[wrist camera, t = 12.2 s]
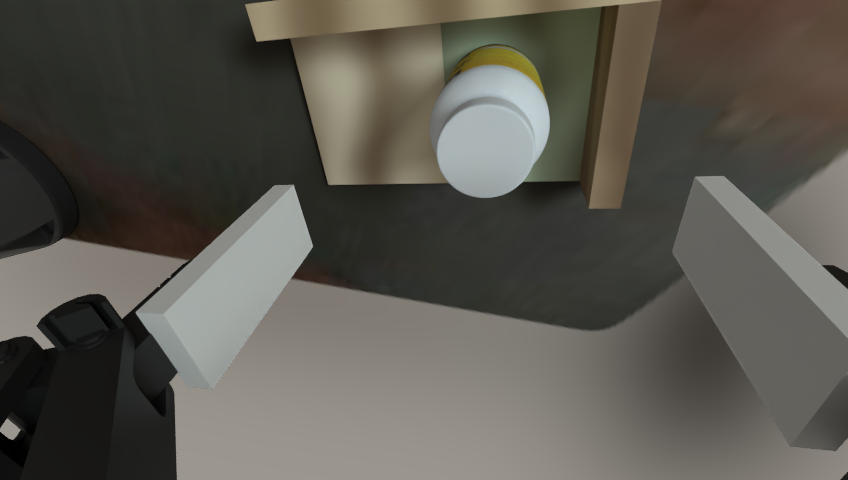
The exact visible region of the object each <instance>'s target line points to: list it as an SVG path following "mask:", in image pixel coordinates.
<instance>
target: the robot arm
mask: <svg viewBox="0 0 848 480" xmlns="http://www.w3.org/2000/svg"><path fill="white" fill-rule="evenodd" d="M77 222H78V210H77V206H76V202H75V199H74V197H73V194H72V192H71V190H70V188H69V186H68V185H67V183H66V181H65V180H64V178H63V177H62V175H61V174H60V173H59V171H58V170H57V169H56V168H55V166H54V165H53V164H52V163H51V162H50V161H49V159H48V158H47V157H46V156H45V155H44V154H43V153H42V152H41V151H40V150H39V149H38V148H36V147H35V146H34V145H33V144H32V143H31V142H29V141H28V140H27V139H26V138H24V137H23V136H22V135H20V134H19V133H18V132H16V131H15V130H13V129H12V128H10V127H9V126H7V125H5V124H4V123H2V122H0V259H2V258H6V257H10V256H14V255H17V254H21V253H25V252H29V251H33V250H37V249H40V248H44V247H47V246H50V245H52V244H54V243H56V242H57V241H59V240H61V239H63V238H64V237H66V236H68V235H69V234H71V233H72V232H73V231H74V229H75V228H76V225H77ZM312 248H313V245H312V242H311V239H310V236H309V232H308V229H307V226H306V223H305V220H304V217H303V213H302V210H301V207H300V204H299V201H298V197H297V194H296V191H295V188H294V185H274V186H273V187H272V188H271V189H270V190H269V191H268V192H267V193H266V194H265V195H263V196H262V197H261V198H260V199H259V200H258V201H257V202H256V203H255V204H254V205H253V206H251V207H250V208H249V209H248V210H247V211H246V212H245V213H244V214H243V215H242V216H240V217H239V218H238V219H237V220H236V221H235V222H234V223H233V224H232V225H231V226H229V227H228V228H227V229H226V230H225V231H224V232H223V233H222V234H221V235H220V236H219V237H217V238H216V239H215V240H214V241H213V242H212V243H211V244H210V245H209V246H208V247H206V248H205V249H204V250H203V251H202V252H201V253H200V254H199V255H198V256H196V257H195V258H193V259H191V260H190V261H188V262H186V263H185V264H183V265H182V266H181V267H180V268H178V270H176V271H175V272H174V273H173V274H172V275H171V277H170V278H167V279H166V280H165V281H164V282H163V283H162V284H161V285H160V287H157V288H156V289H155V290H154V291H153V292H152V293H151V294H150V295H148V296H147V297H146V298H145V299H144V300H143V301H142V302H141V303H139V304H138V305H137V306H136V307H135V308H134V309H133V310H132V311H131V312H130V313H129V314H127V315H126V316H125V317H124V318H123V319H121V317H120V316H119V315H118V313H117V312H116V311H115V309H114V308H113V307H112V305H111V304H110V303H109V301H108V300H107V298H106V297H105V296H103V295H100V294H89V295H86V296H81V297H78V298H75V299H73V300H70V301H68V302H66V303H63V304H62V305H60V306H58V307H57V308H55V309H53V310H52V311H50V312H49V313H48V314H47V315H45V317H43V318H42V319H41V320H40V322H39V323H38V325H37V327H38V328H39V329H40V331H42V333H43V334H44V335H45V336H46V337H47V338H48V339H49V340H50V341H51V342H52V344H53V345H54V346H55V348H50V349H45V350H43V349H42V348H41V346H40V345H39V344H38V343H37V342H36V341H35V340H34V339H33V338H32V337H27V336H22V337H15V338H12V339H9V340H6V341H1V342H0V428H1V426H2V425H3V423H4V422H5V420H6V419H7V418H8V419H9V420H10V421H11V422H12V423H14V424H15V425H16V426H17V427H18V428H19V429H21V430H20V432H19V434H18V435H17V437H16V438H15V439H14V440H11V439H8V438H7V437H6V436H5V435H3V434H2V433H1V432H0V480H177V474H176V473H177V472H176V442H175V441H176V438H175V405H174V404H175V403H174V391H173V389H172V387H171V385H170V384H169V382H170V381H171V380H172V379H173V377H174V376H175V375H176V374H177V373H178V374H179V376H180V377H181V379H182V380H183V381H184V383H185V384H186V386H187V387H191V388H202V389H211V390H212V389H213V388H214V386H215V385H216V384H217V382H218V381H219V379H220V378H221V376H222V375H223V374H224V372H225V371H226V369H227V368H228V367H229V365H230V364H231V362H232V361H233V360H234V358H235V357H236V355H237V354H238V352H239V351H240V350H241V348H242V347H243V345H244V344H245V343H246V341H247V340H248V338H249V337H250V335H251V334H252V332H253V331H254V330H255V328H256V327H257V326H258V324H259V322H260V321H261V320H262V318H263V317H264V316H265V314H266V313H267V311H268V310H269V309H270V307H271V306H272V304H273V303H274V301H275V300H276V299H277V297H278V296H279V294H280V293H281V292H282V290H283V289H284V287H285V286H286V284H287V283H288V282H289V280H290V279H291V277H292V276H293V275H294V273H295V272H296V270H297V269H298V267H299V266H300V265H301V263H302V262H303V260H304V259H305V258H306V256H307V255H308V253H309V252H310V250H311V249H312ZM672 253H673V254H674V256H675V258H676V259H677V261H678V263H679V264H680V266H681V268H682V269H683V271H684V273H685V274H686V276H687V278H688V279H689V281H690V282H691V284H692V286H693V287H694V289H695V290H696V292H697V294H698V296H699V297H700V299H701V301H702V302H703V304H704V306H705V307H706V309H707V311H708V312H709V314H710V316H711V317H712V319H713V320H714V322H715V324H716V325H717V327H718V329H719V330H720V332H721V334H722V335H723V337H724V339H725V340H726V342H727V344H728V345H729V347H730V349H731V350H732V352H733V353H734V355H735V356H736V358H737V360H738V361H739V363H740V365H741V367H742V368H743V370H744V371H745V373H746V375H747V377H748V378H749V380H750V381H751V383H752V385H753V386H754V388H755V390H756V391H757V393H758V395H759V396H760V398H761V400H762V401H763V403H764V405H765V406H766V408H767V410H768V411H769V413H770V414H771V416H772V418H773V419H774V421H775V423H776V424H777V426H778V428H779V429H780V431H781V432H782V434H783V436H784V438H785V439H786V441H787V443H788V444H789V446H790V447H801V448H811V449H821V450H832V451H836V450H837V449H838V448H839V447H840V446H841V445H842V444H843V442H844V441H845V440H846V439H847V438H848V273H847V272H845V271H843V270H841V269H839V268H838V267H836V266H833V265H820V264H819V263H818V262H817V261H816V260H815V259H814V258H812V256H811V255H810V254H808V253H807V252H806V251H805V250H804V249H803V248H802V247H801V246H800V245H799V244H798V243H796V242H795V241H794V240H793V239H792V238H791V237H790V236H789V235H788V234H787V233H785V232H784V231H783V230H782V229H781V228H780V227H779V226H778V225H777V224H776V223H774V222H773V221H772V220H771V219H770V218H769V217H768V216H767V215H766V214H765V213H764V212H763V211H761V210H760V209H759V208H758V207H757V206H756V205H755V204H754V203H753V202H752V201H750V200H749V199H748V198H747V197H746V196H745V195H744V194H743V193H742V192H741V191H740V190H738V189H737V188H736V187H735V186H734V185H733V184H732V183H731V182H730V181H729V180H727V179H726V178H725V177H724V176H708V177H695V178H694V181H693V184H692V188H691V191H690V194H689V198H688V201H687V204H686V207H685V211H684V214H683V217H682V220H681V224H680V227H679V230H678V234H677V237H676V240H675V243H674V247H673V250H672ZM841 480H848V472H847V473H846V474H845V475H844V476H843V477H842V479H841Z"/></svg>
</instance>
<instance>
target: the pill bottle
mask: <svg viewBox="0 0 848 480" xmlns="http://www.w3.org/2000/svg"><path fill="white" fill-rule="evenodd" d="M549 129H550V116H549V109H548V105H547V102H546V98H545V94H544V91H543V87H542V84H541V81H540V78H539V75H538V72H537V70H536V68H535V66H534V64H533V63H532V61H531V60H530V59H529V58H528V57H527V56H526V55H525V54H524V53H522V52H521V51H520V50H518V49H516V48H514V47H511V46H508V45H503V44H490V45H485V46H481V47H479V48H476V49H474V50H473V51H471V52H470V53H468V54H467V55H466V56H464V57H463V58H462V59H461V60H460V61H459V62H458V64H457V65H456V66H455V68H454V69H453V71H452V73H451V75H450V77H449V78H448V80H447V82H446V84H445V86H444V87H443V89H442V90H441V92H440V94H439V96H438V98H437V100H436V102H435V104H434V107H433V110H432V113H431V118H430V138H431V143H432V146H433V149H434V151H435V153H436V156H437V162H438V166H439V168H440V171H441V173H442V174H443V176H444V177H445V179H446V180H447V181H448V182H449V183H450V184H451V185H452V186H453V187H454V188H455V189H457V190H458V191H460V192H462V193H464V194H467V195H469V196H473V197H479V198H491V197H497V196H500V195H503V194H506V193H508V192H510V191H512V190H513V189H515V188H516V187H517V186H519V185H520V184H521V183H522V182H523V181H524V180H525V178H526V177H527V176H528V174H529V172H530V170H531V168H532V166H533V164H534V163H535V162H536V161H537V159H538V158H539V156H540V155H541V153H542V151H543V150H544V147H545V145H546V142H547V139H548V135H549Z"/></svg>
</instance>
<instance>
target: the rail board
mask: <svg viewBox="0 0 848 480" xmlns="http://www.w3.org/2000/svg"><path fill="white" fill-rule="evenodd" d="M661 3H662V0H277V1H269V2H261V3H253V4H245V5H246V9H247V12H248V15H249V18H250V22H251V25H252V28H253V32H254V35H255V38H256V41H267V40H277V39H287V38H290V39H291V43H292V47H293V51H294V55H295V59H296V62H297V66H298V70H299V74H300V78H301V82H302V85H303V89H304V93H305V97H306V101H307V105H308V108H309V112H310V116H311V120H312V124H313V128H314V132H315V135H316V139H317V143H318V147H319V151H320V155H321V158H322V162H323V166H324V170H325V174H326V178H327V182H328V185H357V184H418V183H449V182H448V181H447V180H446V179H445V177H444V176H443V174H442V173H441V171H440V168H439V166H438V162H437V156H436V153H435V151H434V149H433V146H432V143H431V138H430V118H431V113H432V110H433V107H434V104H435V102H436V100H437V98H438V96H439V94H440V92H441V90H442V89H443V87H444V86H445V84H446V82H447V80H448V78H449V77H450V75H451V73H452V71H453V69H454V68H455V66H456V65H457V64H458V62H459V61H460V60H461V59H462V58H463V57H464V56H466V55H467V54H468V53H470V52H471V51H473V50H474V49H476V48H479V47H481V46H485V45H490V44H503V45H508V46H511V47H514V48H516V49H518V50H520V51H521V52H522V53H524V54H525V55H526V56H527V57H528V58H529V59H530V60H531V61H532V63H533V64H534V66H535V68H536V70H537V72H538V75H539V78H540V81H541V84H542V87H543V91H544V94H545V98H546V102H547V105H548V109H549V116H550V129H549V135H548V139H547V142H546V145H545V147H544V150H543V151H542V153H541V155H540V156H539V158H538V159H537V161H536V162H535V163H534V164H533V166H532V168H531V170H530V172H529V174H528V176H527V177H526V178H525V180H524V181H523V182H540V181H579V182H580V184H581V187H582V190H583V193H584V196H585V199H586V202H587V205H588V207H589V209H591V208H621V203H622V198H623V193H624V188H625V183H626V178H627V173H628V168H629V163H630V158H631V153H632V148H633V143H634V138H635V133H636V128H637V123H638V118H639V113H640V108H641V103H642V98H643V93H644V88H645V83H646V78H647V73H648V68H649V63H650V58H651V53H652V48H653V43H654V38H655V33H656V28H657V23H658V18H659V13H660V8H661Z"/></svg>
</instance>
